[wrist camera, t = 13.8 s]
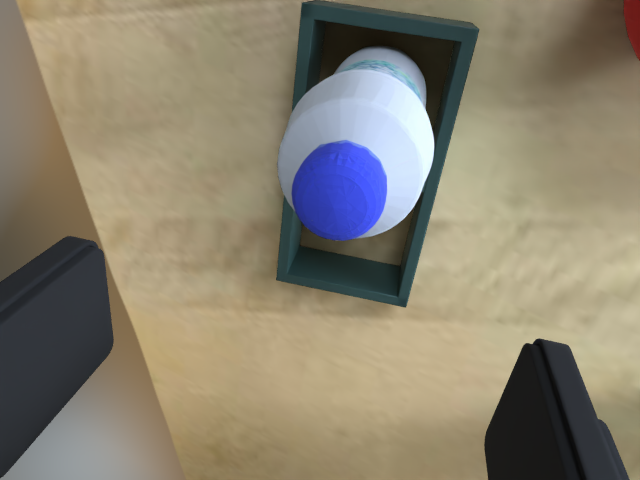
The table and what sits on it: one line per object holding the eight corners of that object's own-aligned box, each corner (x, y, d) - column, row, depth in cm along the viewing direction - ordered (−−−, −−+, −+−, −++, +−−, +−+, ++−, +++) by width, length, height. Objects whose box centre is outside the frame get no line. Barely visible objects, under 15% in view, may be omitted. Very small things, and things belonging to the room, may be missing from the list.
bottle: (317, 112, 35) (215, 242, 18) (357, 20, 32) (280, 68, 14) (399, 153, 35) (379, 320, 18) (448, 66, 32) (480, 168, 15)
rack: (472, 22, 30) (479, 28, 27) (407, 275, 40) (406, 307, 36) (316, -1, 31) (301, 2, 28) (289, 251, 41) (275, 280, 37)
